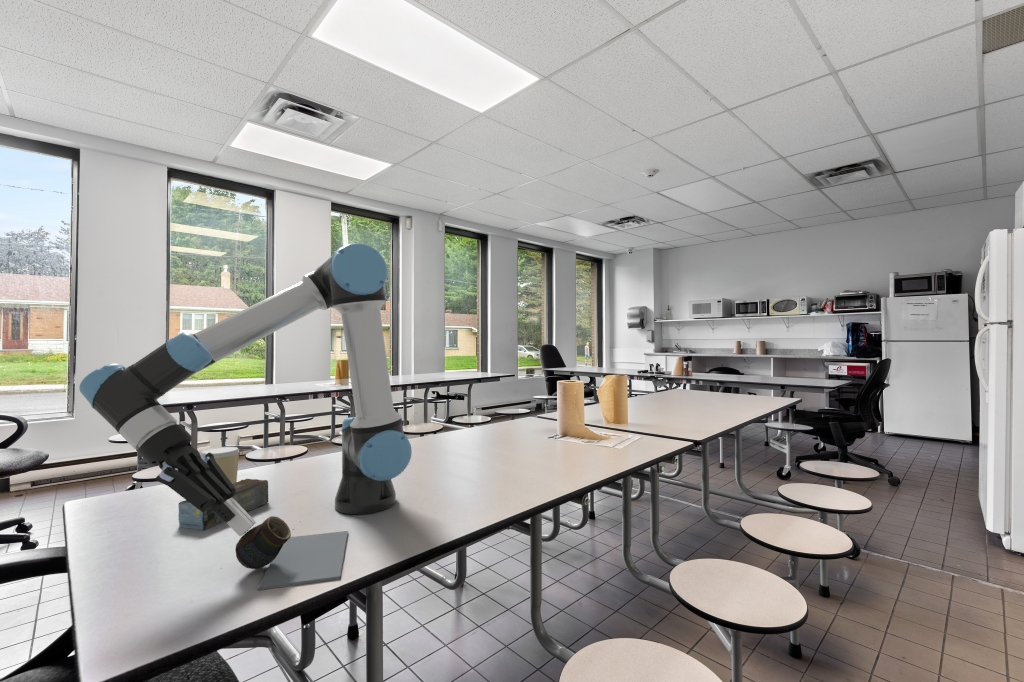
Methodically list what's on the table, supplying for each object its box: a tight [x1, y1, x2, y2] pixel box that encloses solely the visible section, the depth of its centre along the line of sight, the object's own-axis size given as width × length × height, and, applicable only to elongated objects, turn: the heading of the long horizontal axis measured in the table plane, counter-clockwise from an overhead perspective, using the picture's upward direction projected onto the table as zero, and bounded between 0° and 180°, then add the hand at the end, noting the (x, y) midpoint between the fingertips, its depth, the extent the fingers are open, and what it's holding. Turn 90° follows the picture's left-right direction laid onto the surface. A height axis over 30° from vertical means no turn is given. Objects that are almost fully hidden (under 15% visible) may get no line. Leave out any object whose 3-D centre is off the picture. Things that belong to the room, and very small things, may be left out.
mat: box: [257, 530, 349, 591], centre depth 88 cm, size 13×20×1 cm, turn 16°
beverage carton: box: [177, 478, 269, 531], centre depth 112 cm, size 8×19×7 cm, turn 163°
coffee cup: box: [200, 446, 240, 484], centre depth 128 cm, size 9×9×12 cm
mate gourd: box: [235, 515, 292, 570], centre depth 84 cm, size 7×8×10 cm
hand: (248, 529), depth 83 cm, fingers closed, pressing on mate gourd
